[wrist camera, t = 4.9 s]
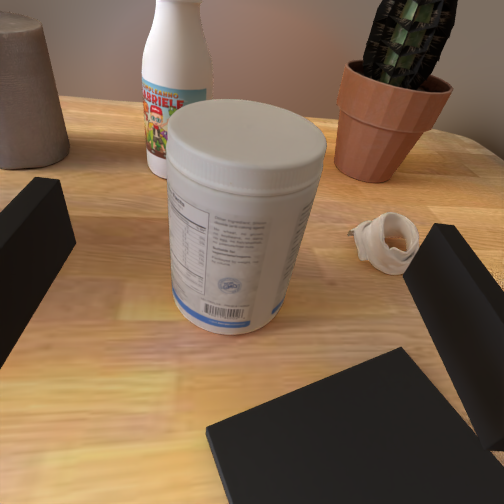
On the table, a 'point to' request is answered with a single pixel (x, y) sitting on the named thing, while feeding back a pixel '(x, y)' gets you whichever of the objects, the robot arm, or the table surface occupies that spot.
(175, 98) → the milk bottle
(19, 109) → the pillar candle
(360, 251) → the white wrapped ring
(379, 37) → the potted plant
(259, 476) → the mat
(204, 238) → the supplement tub
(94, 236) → the table surface
